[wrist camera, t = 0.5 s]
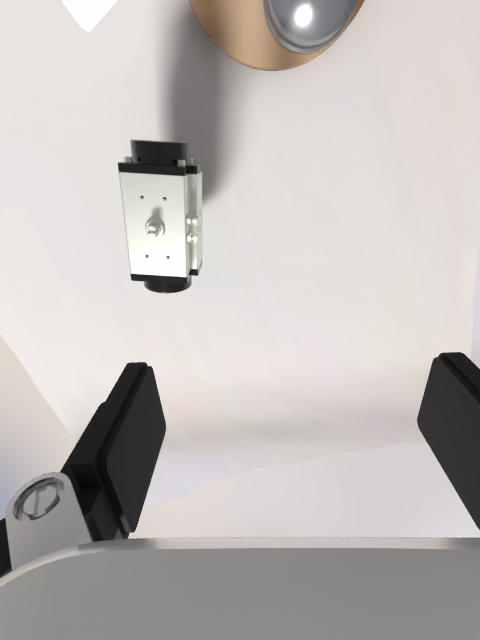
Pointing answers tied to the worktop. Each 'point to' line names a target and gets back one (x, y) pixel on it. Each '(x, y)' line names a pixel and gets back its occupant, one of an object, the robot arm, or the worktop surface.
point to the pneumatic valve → (162, 214)
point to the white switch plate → (88, 11)
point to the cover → (306, 22)
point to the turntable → (250, 33)
